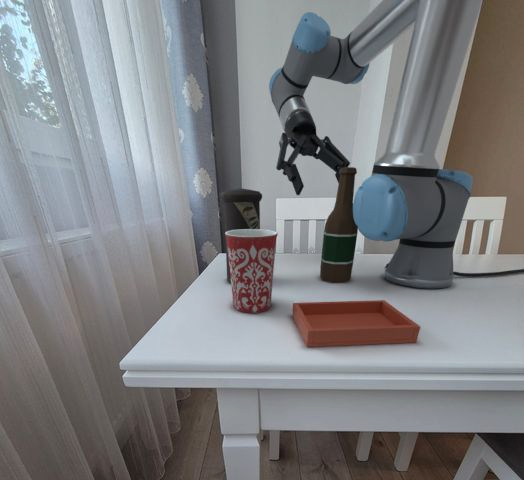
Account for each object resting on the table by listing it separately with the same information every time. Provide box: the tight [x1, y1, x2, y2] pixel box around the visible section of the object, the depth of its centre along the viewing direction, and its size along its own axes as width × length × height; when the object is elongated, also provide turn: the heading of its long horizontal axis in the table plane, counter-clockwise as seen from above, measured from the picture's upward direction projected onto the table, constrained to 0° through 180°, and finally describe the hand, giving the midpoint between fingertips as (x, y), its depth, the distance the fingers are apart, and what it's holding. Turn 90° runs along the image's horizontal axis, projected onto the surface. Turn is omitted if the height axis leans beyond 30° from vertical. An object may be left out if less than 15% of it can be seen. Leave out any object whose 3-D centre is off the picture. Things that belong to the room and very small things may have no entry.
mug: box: [224, 228, 279, 314], centre depth 55 cm, size 13×9×14 cm
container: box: [219, 188, 263, 284], centre depth 68 cm, size 9×9×20 cm
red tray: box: [291, 299, 421, 348], centre depth 47 cm, size 17×12×3 cm
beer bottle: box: [319, 166, 359, 284], centre depth 68 cm, size 8×8×24 cm
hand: (324, 190), depth 71 cm, fingers open, 13 cm apart
